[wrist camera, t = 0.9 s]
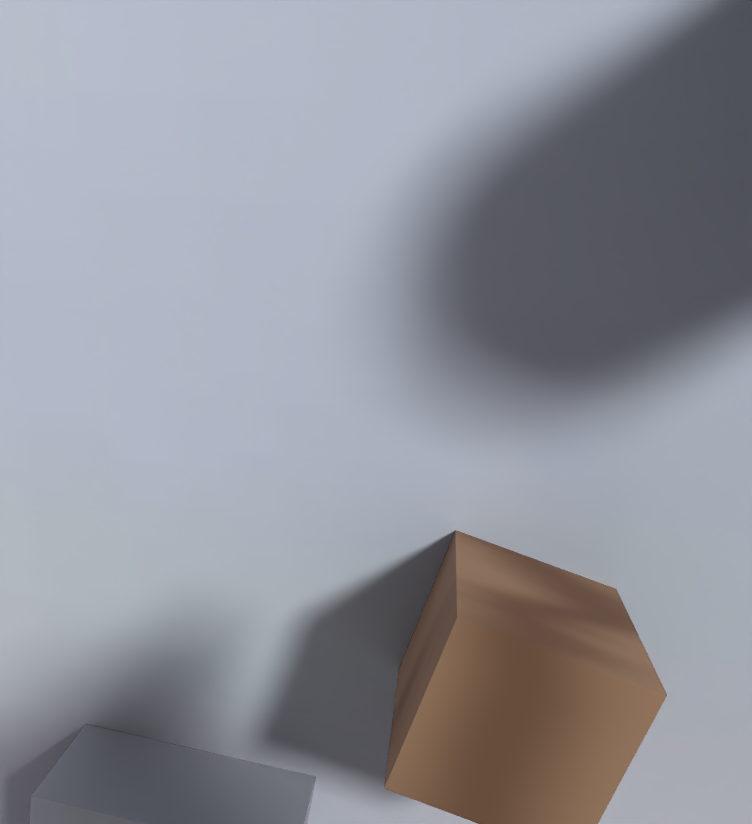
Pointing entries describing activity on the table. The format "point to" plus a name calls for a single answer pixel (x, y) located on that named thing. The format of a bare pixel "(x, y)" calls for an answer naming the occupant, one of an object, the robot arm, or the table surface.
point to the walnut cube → (519, 692)
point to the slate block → (164, 785)
